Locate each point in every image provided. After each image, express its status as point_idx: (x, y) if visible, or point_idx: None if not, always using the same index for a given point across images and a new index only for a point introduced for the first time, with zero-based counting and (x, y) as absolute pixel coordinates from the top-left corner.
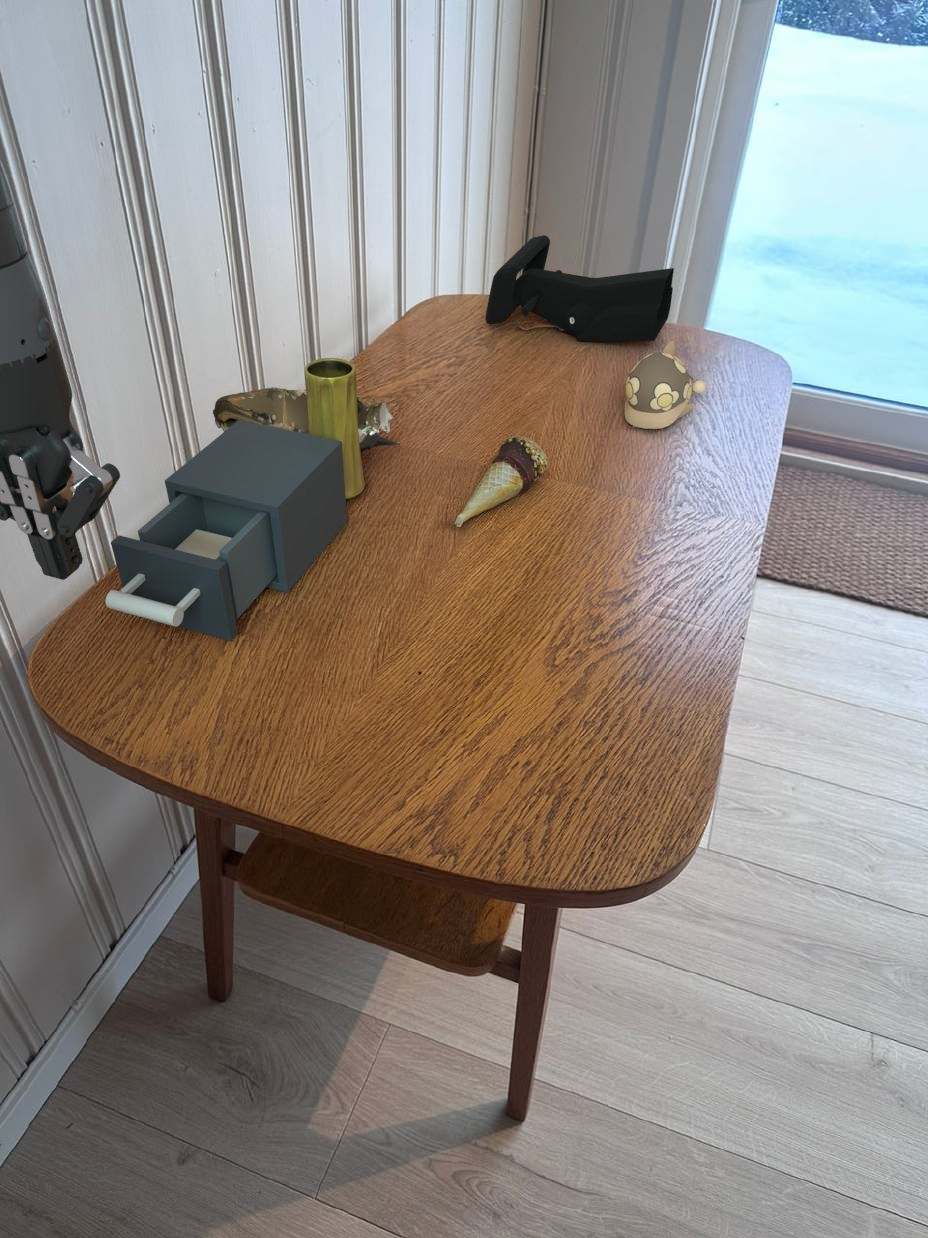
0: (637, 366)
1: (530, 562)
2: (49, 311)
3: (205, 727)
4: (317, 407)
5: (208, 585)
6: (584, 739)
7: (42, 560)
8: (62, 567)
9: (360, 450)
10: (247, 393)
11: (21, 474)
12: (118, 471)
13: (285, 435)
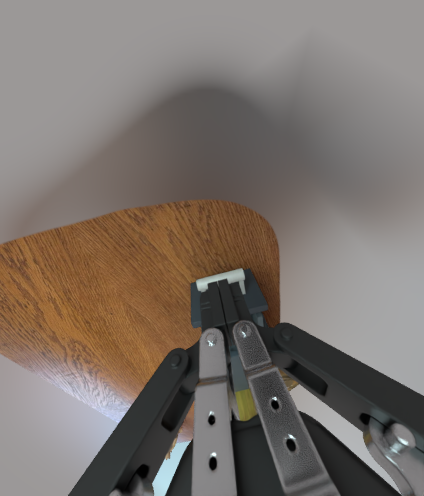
0: (172, 444)
1: (135, 366)
2: None
3: (155, 241)
4: (245, 405)
5: (199, 309)
6: (25, 325)
7: (225, 293)
8: (208, 295)
9: None
10: (291, 388)
11: None
12: None
13: (247, 386)
